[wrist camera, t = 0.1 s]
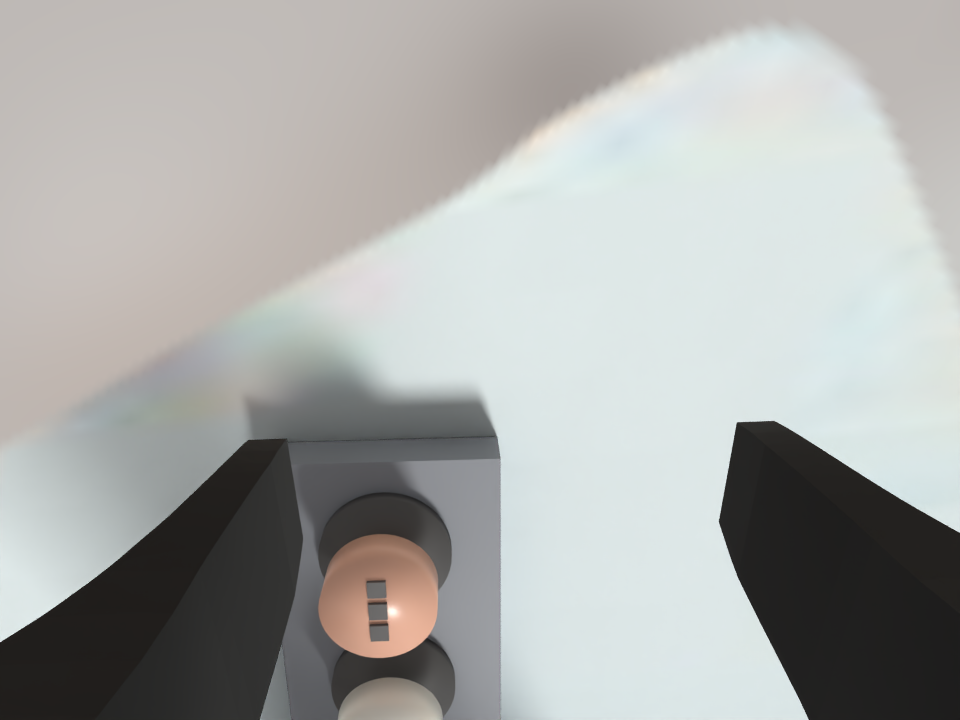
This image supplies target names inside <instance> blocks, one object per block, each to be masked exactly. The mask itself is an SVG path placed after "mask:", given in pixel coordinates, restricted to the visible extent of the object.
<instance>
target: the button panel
mask: <svg viewBox="0 0 960 720" xmlns="http://www.w3.org/2000/svg"><path fill="white" fill-rule="evenodd" d="M288 448H289V454H290V461H291V467H292V473H293V479H294V485H295V491H296V497H297V503H298V509H299V515H300V521H301V527H302V533H303V545H302V552H301V559H300V566H299V573H298V579H297V585H296V592H295V597H294V601H293V605H292V608H291V612H290V615H289V619H288V623H287V626H286V630H285V633H284V637H283V640H282V647H283V655H284V663H285V671H286V679H287V687H288V695H289V703H290V712H291V720H338V715H339V710H340V707H341V704H342V702H343V701H344V699H345V698H346V696H347V695H348V694H349V693H350V692H351V691H352V690H354V689H355V688H356V687H358V686H359V685H361V684H363V683H365V682H368V681H371V680H374V679H379V678H387V677H393V678H403V679H407V680H410V681H413V682H416V683H418V684H420V685H422V686H423V687H425V688H426V689H428V690H429V691H430V692H431V693H432V694H433V695H434V696H435V697H436V699H437V700H438V702H439V704H440V706H441V709H442V715H443V720H501V515H500V452H499V445H498V439H497V437H470V438H433V439H395V440H358V441H320V442H288ZM374 534H388V535H395V536H399V537H402V538H405V539H407V540H409V541H411V542H413V543H415V544H416V545H418V546H419V547H421V548H422V549H423V550H424V551H425V552H426V553H427V554H428V555H429V557H430V558H431V560H432V561H433V563H434V565H435V568H436V571H437V574H438V611H437V619H436V622H435V625H434V627H433V629H432V631H431V633H430V634H429V635H428V637H427V638H426V639H425V640H424V641H423V642H422V643H421V644H419V645H418V646H417V647H415V648H414V649H412V650H410V651H408V652H406V653H404V654H400V655H397V656H393V657H386V658H371V657H365V656H360V655H357V654H354V653H351V652H349V651H347V650H345V649H344V648H342V647H340V646H339V645H338V644H336V643H335V642H334V641H333V640H332V639H331V638H330V637H329V636H328V634H327V633H326V631H325V630H324V628H323V626H322V624H321V621H320V618H319V611H318V605H319V598H320V595H321V591H322V587H323V583H324V579H325V575H326V572H327V568H328V565H329V563H330V561H331V560H332V558H333V557H334V555H335V554H336V553H337V552H338V551H339V550H340V549H341V548H342V547H343V546H344V545H346V544H348V543H349V542H351V541H353V540H355V539H357V538H360V537H363V536H368V535H374Z"/></svg>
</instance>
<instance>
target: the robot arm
mask: <svg viewBox="0 0 960 720" xmlns="http://www.w3.org/2000/svg"><path fill="white" fill-rule="evenodd" d="M719 524H720V527H721V530H722V533H723V536H724V539H725V542H726V545H727V548H728V551H729V554H730V557H731V560H732V562H733V565H734V568H735V571H736V573H737V576H738V578H739V581H740V583H741V585H742V587H743V589H744V591H745V593H746V595H747V597H748V599H749V601H750V603H751V605H752V607H753V609H754V611H755V613H756V615H757V617H758V619H759V621H760V623H761V625H762V627H763V629H764V631H765V633H766V635H767V637H768V639H769V641H770V643H771V645H772V646H773V648H774V650H775V652H776V654H777V656H778V658H779V660H780V662H781V664H782V666H783V668H784V670H785V672H786V674H787V676H788V678H789V680H790V682H791V684H792V686H793V688H794V690H795V692H796V694H797V696H798V697H799V699H800V701H801V704H802V706H803V708H804V710H805V712H806V714H807V717H808V719H809V720H960V533H959V532H957V531H955V530H953V529H952V528H950V527H948V526H946V525H945V524H943V523H941V522H939V521H938V520H936V519H934V518H932V517H930V516H929V515H927V514H925V513H923V512H922V511H920V510H918V509H916V508H915V507H913V506H911V505H910V504H908V503H906V502H904V501H903V500H901V499H899V498H898V497H896V496H894V495H893V494H891V493H890V492H888V491H886V490H885V489H883V488H881V487H880V486H878V485H877V484H875V483H873V482H872V481H870V480H869V479H867V478H865V477H864V476H862V475H861V474H859V473H858V472H856V471H854V470H853V469H851V468H850V467H848V466H847V465H845V464H843V463H842V462H840V461H839V460H837V459H836V458H834V457H833V456H831V455H829V454H828V453H826V452H825V451H823V450H822V449H820V448H819V447H817V446H815V445H814V444H812V443H811V442H809V441H808V440H806V439H804V438H803V437H801V436H800V435H798V434H796V433H795V432H793V431H791V430H790V429H788V428H786V427H784V426H783V425H781V424H779V423H777V422H775V421H762V422H737V425H736V430H735V436H734V442H733V447H732V453H731V458H730V464H729V469H728V475H727V480H726V486H725V491H724V497H723V502H722V508H721V513H720V519H719ZM302 545H303V533H302V527H301V521H300V515H299V509H298V503H297V497H296V491H295V485H294V479H293V473H292V467H291V461H290V454H289V448H288V442H287V439H265V440H248V441H247V442H246V443H244V444H243V445H242V446H241V447H240V448H239V449H238V450H237V451H236V452H235V453H234V454H233V455H232V456H231V457H230V458H229V459H228V460H227V461H226V462H225V463H224V464H223V465H222V466H221V467H220V468H219V469H218V470H217V471H216V472H215V473H214V474H213V475H212V476H211V477H209V478H208V479H207V480H206V481H205V482H204V483H203V484H202V485H201V486H200V487H199V488H198V489H197V490H196V491H195V492H194V493H193V494H192V495H191V496H190V497H189V498H188V499H187V500H186V501H184V502H183V503H182V504H181V505H180V506H179V507H178V508H177V509H176V510H175V511H174V512H173V513H172V514H171V515H170V516H169V517H167V518H166V519H165V520H164V521H163V522H162V523H160V524H159V525H158V526H157V527H156V528H155V529H153V530H152V531H151V532H150V533H149V534H148V535H146V536H145V537H144V538H143V539H142V540H141V541H139V542H138V543H137V544H136V545H135V546H134V547H132V548H131V549H130V550H129V551H128V552H127V553H125V554H124V555H123V556H122V557H121V558H120V559H118V560H117V561H116V562H115V563H114V564H112V565H111V566H110V567H108V568H107V569H106V570H105V571H103V572H102V573H101V574H99V575H98V576H97V577H96V578H94V579H93V580H92V581H90V582H89V583H88V584H86V585H85V586H84V587H82V588H81V589H79V590H78V591H77V592H75V593H74V594H72V595H71V596H70V597H68V598H67V599H65V600H64V601H63V602H61V603H60V604H59V605H57V606H56V607H54V608H53V609H51V610H50V611H49V612H47V613H46V614H44V615H43V616H41V617H40V618H38V619H37V620H35V621H33V622H32V623H30V624H29V625H27V626H25V627H24V628H22V629H21V630H19V631H18V632H16V633H14V634H13V635H11V636H10V637H8V638H6V639H5V640H3V641H2V642H0V720H260V716H261V713H262V709H263V706H264V703H265V699H266V696H267V692H268V689H269V685H270V682H271V678H272V675H273V671H274V668H275V664H276V661H277V658H278V654H279V651H280V647H281V644H282V640H283V637H284V633H285V630H286V626H287V623H288V619H289V615H290V612H291V608H292V605H293V601H294V597H295V592H296V585H297V579H298V573H299V566H300V559H301V552H302Z"/></svg>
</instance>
